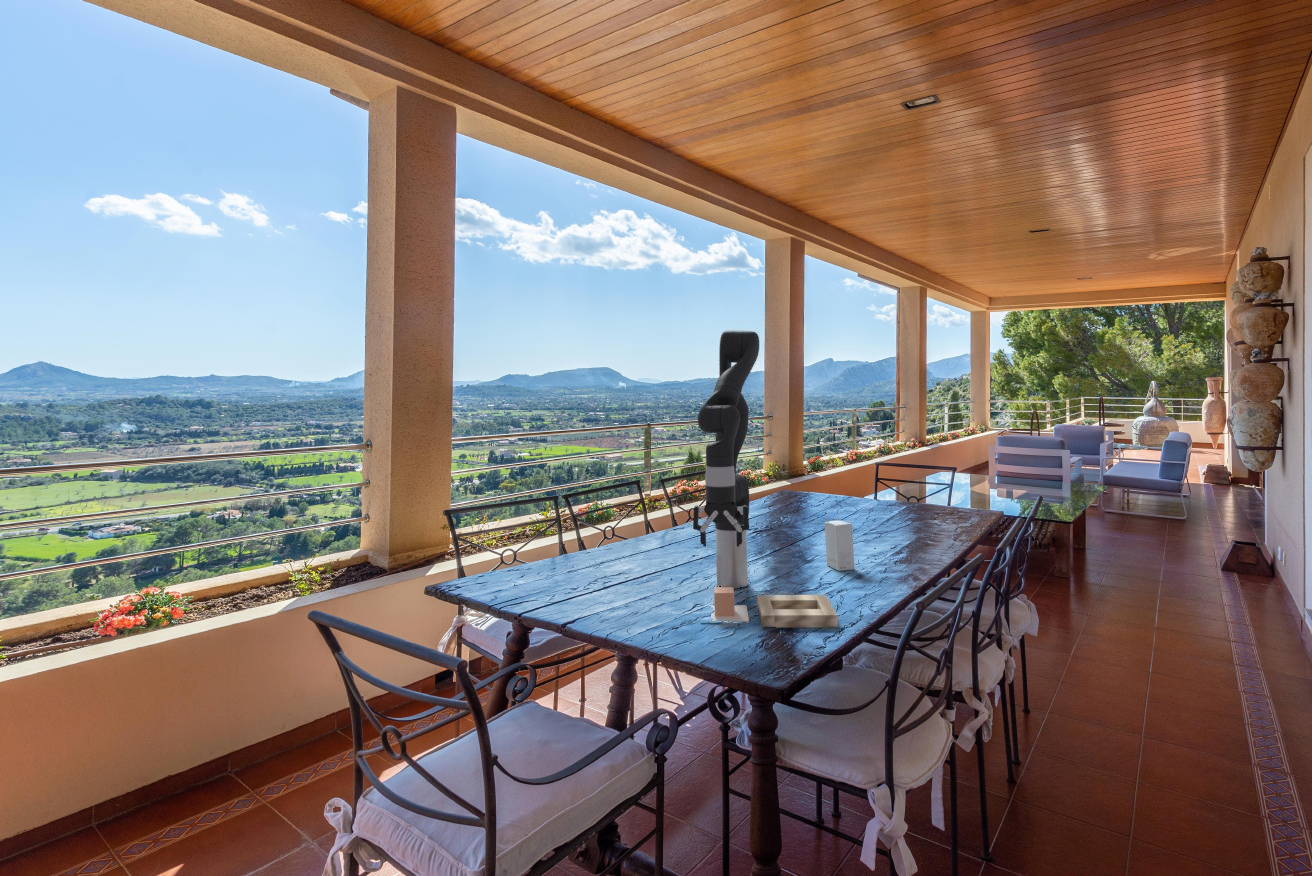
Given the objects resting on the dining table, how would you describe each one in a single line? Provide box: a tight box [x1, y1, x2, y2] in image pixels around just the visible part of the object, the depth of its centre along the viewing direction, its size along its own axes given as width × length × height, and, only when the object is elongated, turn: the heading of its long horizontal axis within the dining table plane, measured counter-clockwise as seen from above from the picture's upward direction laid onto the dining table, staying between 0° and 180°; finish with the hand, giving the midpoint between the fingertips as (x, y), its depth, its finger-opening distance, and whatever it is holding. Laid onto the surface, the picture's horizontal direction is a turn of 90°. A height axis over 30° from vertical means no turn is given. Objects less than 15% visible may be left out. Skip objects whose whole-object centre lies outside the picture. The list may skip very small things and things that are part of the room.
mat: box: [709, 604, 750, 624], centre depth 166 cm, size 12×12×1 cm
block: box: [713, 586, 735, 616], centre depth 166 cm, size 5×5×6 cm
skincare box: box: [824, 519, 855, 572], centre depth 207 cm, size 8×6×15 cm
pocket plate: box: [756, 594, 839, 628], centre depth 163 cm, size 18×16×3 cm
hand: (721, 545), depth 165 cm, fingers open, 8 cm apart
